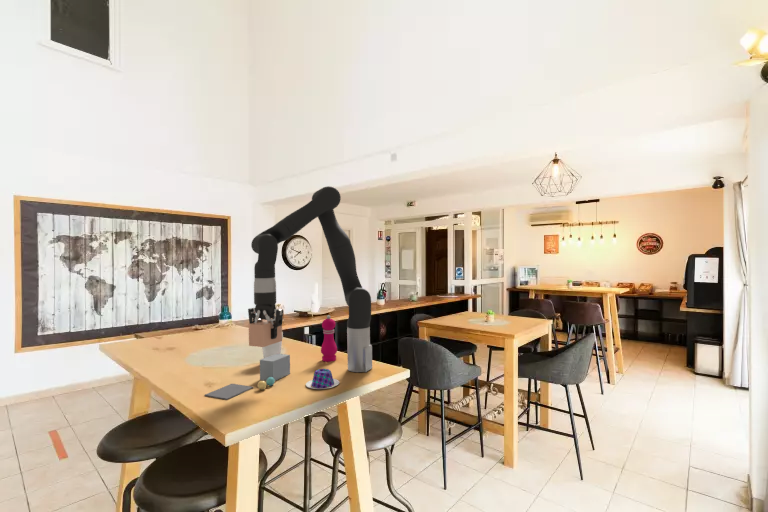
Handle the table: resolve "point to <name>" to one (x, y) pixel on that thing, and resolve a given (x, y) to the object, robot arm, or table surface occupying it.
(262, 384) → the marble
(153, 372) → the table surface
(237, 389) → the mat
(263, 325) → the cover terracotta
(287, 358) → the plate
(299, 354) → the table surface
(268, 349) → the foam cup
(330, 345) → the pepper mill
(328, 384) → the pudding
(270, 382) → the marble
